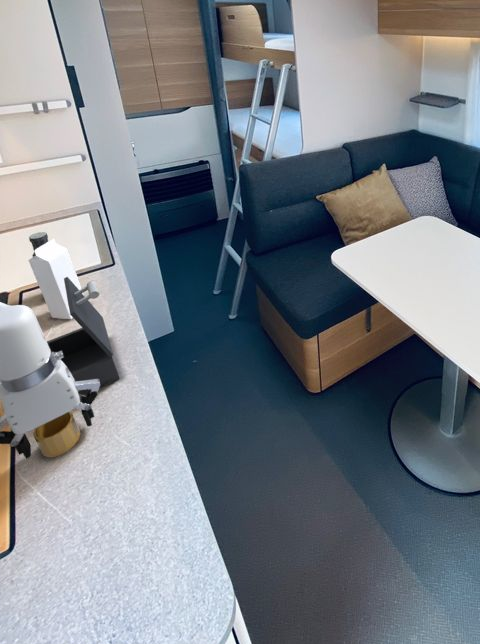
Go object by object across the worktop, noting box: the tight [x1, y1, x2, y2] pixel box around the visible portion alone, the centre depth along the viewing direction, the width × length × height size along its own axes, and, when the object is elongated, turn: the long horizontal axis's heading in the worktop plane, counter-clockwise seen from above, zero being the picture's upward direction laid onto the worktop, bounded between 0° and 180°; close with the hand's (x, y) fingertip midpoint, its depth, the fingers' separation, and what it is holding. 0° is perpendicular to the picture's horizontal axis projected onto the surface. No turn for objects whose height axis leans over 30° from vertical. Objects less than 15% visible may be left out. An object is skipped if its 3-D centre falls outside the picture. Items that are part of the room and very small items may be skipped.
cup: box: [32, 410, 81, 458], centre depth 79 cm, size 6×6×5 cm
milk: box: [28, 238, 85, 320], centre depth 111 cm, size 6×6×22 cm
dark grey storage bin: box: [46, 327, 120, 395], centre depth 94 cm, size 14×16×6 cm
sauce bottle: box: [28, 231, 50, 258], centre depth 119 cm, size 6×6×20 cm
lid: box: [64, 277, 114, 357], centre depth 94 cm, size 15×16×5 cm
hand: (59, 436), depth 79 cm, fingers open, 9 cm apart
